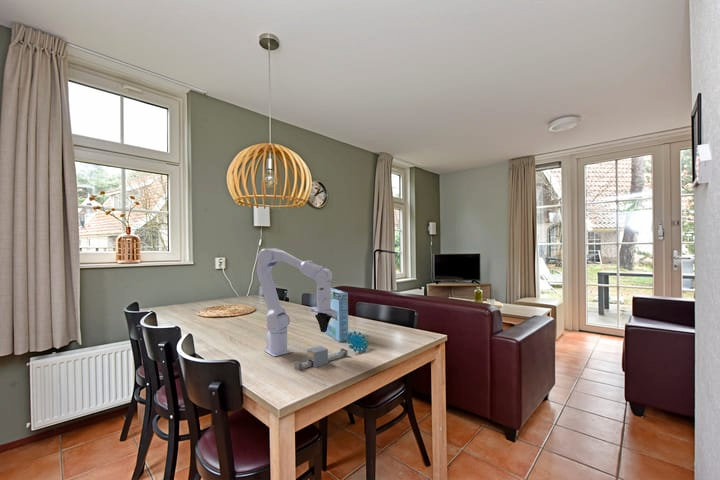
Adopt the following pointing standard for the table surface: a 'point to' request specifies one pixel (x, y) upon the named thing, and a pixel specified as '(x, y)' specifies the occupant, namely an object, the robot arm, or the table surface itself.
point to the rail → (340, 354)
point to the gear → (357, 342)
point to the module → (318, 356)
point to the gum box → (339, 315)
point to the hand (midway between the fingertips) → (323, 331)
